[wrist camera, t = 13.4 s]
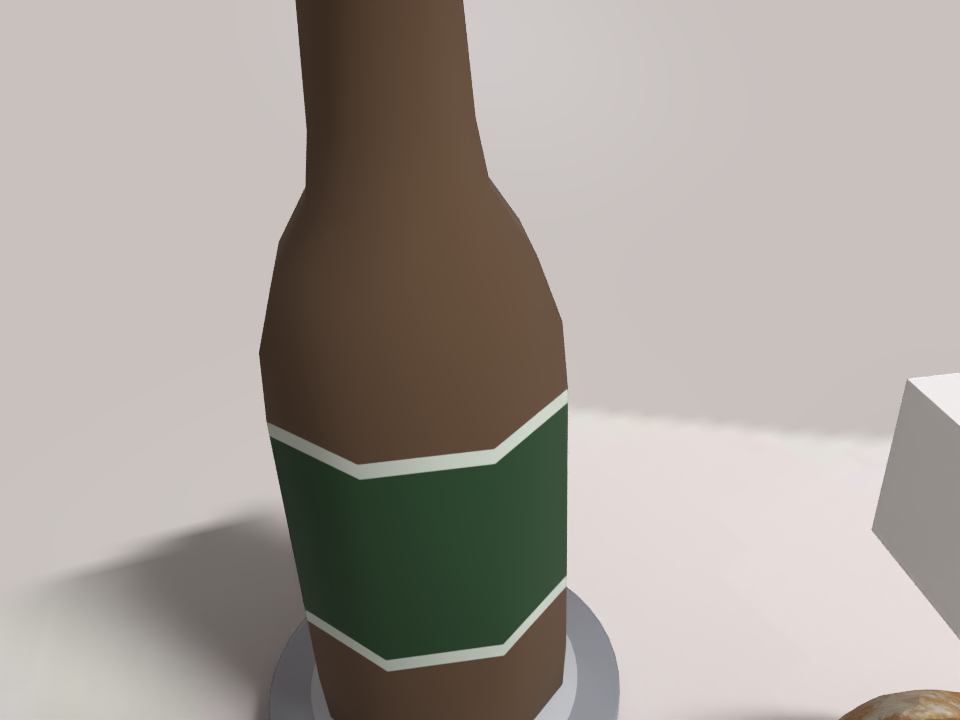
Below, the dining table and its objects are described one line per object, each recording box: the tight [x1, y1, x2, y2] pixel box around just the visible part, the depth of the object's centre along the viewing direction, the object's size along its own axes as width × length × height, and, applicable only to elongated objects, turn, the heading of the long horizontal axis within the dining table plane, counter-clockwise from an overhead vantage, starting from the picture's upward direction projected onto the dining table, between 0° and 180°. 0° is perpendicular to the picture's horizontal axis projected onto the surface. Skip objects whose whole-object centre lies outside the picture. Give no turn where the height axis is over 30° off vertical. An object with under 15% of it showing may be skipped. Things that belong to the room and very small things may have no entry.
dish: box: [269, 588, 620, 720], centre depth 28 cm, size 11×11×1 cm
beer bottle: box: [259, 0, 568, 720], centre depth 21 cm, size 8×8×24 cm
